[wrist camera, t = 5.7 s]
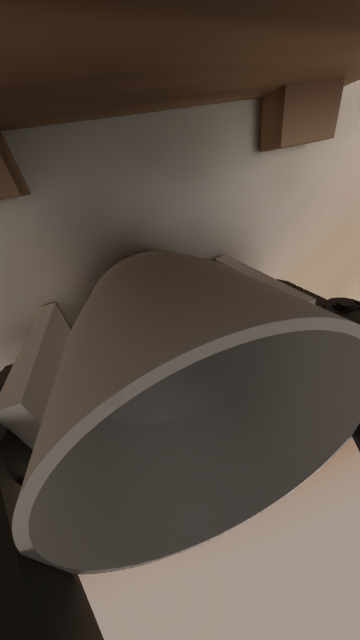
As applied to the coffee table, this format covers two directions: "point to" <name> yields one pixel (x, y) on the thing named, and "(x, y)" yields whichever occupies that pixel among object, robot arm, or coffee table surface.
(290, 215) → the coffee table surface
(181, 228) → the coffee table surface
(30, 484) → the cup
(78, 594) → the robot arm
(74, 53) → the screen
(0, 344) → the coffee table surface
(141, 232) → the coffee table surface
